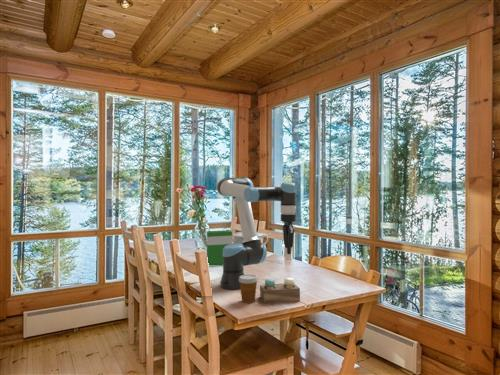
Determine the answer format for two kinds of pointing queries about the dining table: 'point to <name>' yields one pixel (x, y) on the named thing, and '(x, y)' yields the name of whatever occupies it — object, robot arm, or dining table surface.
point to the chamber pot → (239, 237)
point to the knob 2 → (289, 282)
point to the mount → (279, 293)
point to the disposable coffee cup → (248, 287)
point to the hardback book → (217, 245)
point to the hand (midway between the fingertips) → (288, 260)
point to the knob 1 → (269, 283)
